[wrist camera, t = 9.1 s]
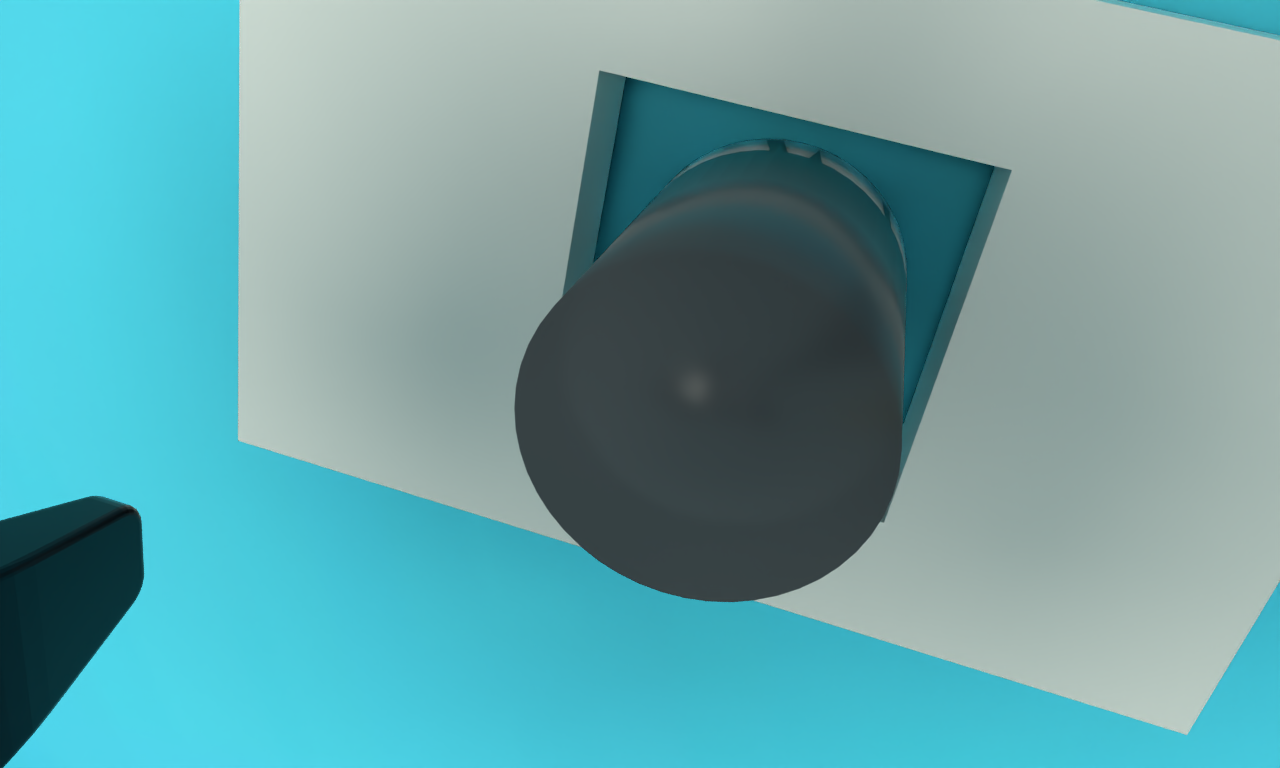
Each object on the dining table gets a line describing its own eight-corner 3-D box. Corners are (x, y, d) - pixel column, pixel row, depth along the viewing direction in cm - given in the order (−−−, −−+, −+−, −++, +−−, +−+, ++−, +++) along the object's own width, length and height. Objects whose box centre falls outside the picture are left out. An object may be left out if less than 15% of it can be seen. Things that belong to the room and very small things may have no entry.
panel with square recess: (1493, 81, 15) (1568, 102, 14) (1164, 665, 21) (1186, 734, 19) (306, -176, 18) (240, -186, 16) (288, 401, 24) (238, 440, 22)
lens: (944, 177, 18) (958, 313, 12) (861, 426, 20) (838, 647, 14) (665, 109, 19) (542, 204, 13) (617, 357, 21) (493, 539, 15)
